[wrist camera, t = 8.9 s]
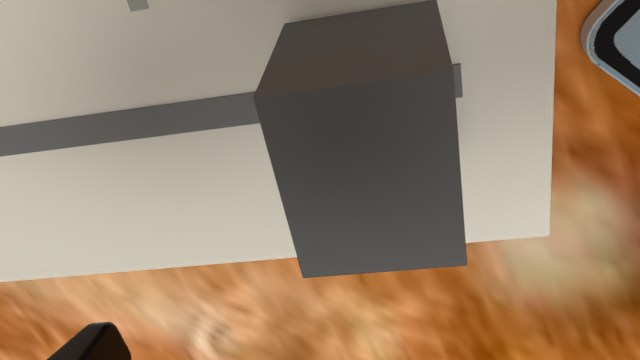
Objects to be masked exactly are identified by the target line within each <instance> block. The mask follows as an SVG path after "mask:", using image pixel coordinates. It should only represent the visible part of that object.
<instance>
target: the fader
mask: <svg viewBox="0 0 640 360" xmlns="http://www.w3.org/2000/svg"><path fill="white" fill-rule="evenodd" d="M253 100H254V103H255V107H256V111H257V114H258V118H259V121H260V125H261V129H262V132H263V136H264V139H265V143H266V147H267V150H268V154H269V157H270V161H271V165H272V168H273V172H274V175H275V179H276V183H277V186H278V190H279V193H280V197H281V201H282V204H283V208H284V211H285V215H286V219H287V222H288V226H289V229H290V233H291V236H292V240H293V244H294V247H295V251H296V254H297V258H298V262H299V265H300V269H301V272H302V276H303V278H311V277H324V276H337V275H349V274H362V273H375V272H388V271H401V270H414V269H427V268H440V267H453V266H465V265H467V255H466V240H465V226H464V212H463V197H462V183H461V168H460V154H459V140H458V125H457V111H456V96H455V82H454V70H453V66H452V62H451V57H450V53H449V49H448V45H447V41H446V37H445V33H444V29H443V25H442V21H441V16H440V12H439V8H438V4H437V0H428V1H422V2H415V3H409V4H403V5H397V6H390V7H384V8H378V9H372V10H365V11H359V12H353V13H346V14H340V15H334V16H328V17H321V18H315V19H309V20H303V21H296V22H290V23H284V25H283V28H282V30H281V33H280V35H279V37H278V40H277V42H276V45H275V47H274V49H273V52H272V54H271V56H270V59H269V61H268V64H267V66H266V68H265V71H264V73H263V75H262V78H261V80H260V83H259V85H258V87H257V90H256V92H255V95H254V97H253Z"/></svg>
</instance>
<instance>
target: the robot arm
mask: <svg viewBox="0 0 640 360" xmlns="http://www.w3.org/2000/svg"><path fill="white" fill-rule="evenodd" d="M47 360H131V354H130V351H129V349H128V347H127V345H126V343H125V341H124V340H123V338H122V336H121V334H120V332H119V330H118V329H117V327H116V326H115V325H114V324H113V323H111V322H102V323H92V324H89V325H87V326H86V327H84V328H83V329H82V330H81V331H80V332H79V333H77V334H76V335H75V336H74V337H73V338H72V339H70V340H69V341H68V342H67V343H66V344H65V345H63V346H62V347H61V348H60V349H59V350H58V351H56V352H55V353H54V354H53V355H52V356H51V357H49V358H48V359H47Z"/></svg>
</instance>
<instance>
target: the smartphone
mask: <svg viewBox="0 0 640 360" xmlns="http://www.w3.org/2000/svg"><path fill="white" fill-rule="evenodd" d="M580 41H581V46H582V48H583V50H584V52H585V53H586V54H587V56H588V57H589V58H590V60H591V61H592V62H593V63H594V64H595V65H596V66H598V67H599V68H600V69H602V70H603V71H605V72H606V73H607V74H609V75H610V76H612V77H613V78H614V79H616V80H617V81H619V82H620V83H621V84H623V85H624V86H625V87H627V88H628V89H630V90H631V91H632V92H634V93H635V94H637V95H638V96H639V97H640V0H603V1H602V2H601V3H600V4H599V5H598V6H597V7H596V8H595V9H594V10H593V11H592V12H591V14H590V15H589V16H588V17H587V19H586V20H585V22H584V24H583V27H582V30H581V34H580Z"/></svg>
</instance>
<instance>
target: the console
mask: <svg viewBox="0 0 640 360" xmlns="http://www.w3.org/2000/svg"><path fill="white" fill-rule="evenodd" d="M422 1H428V0H0V282H9V281H21V280H32V279H44V278H56V277H68V276H80V275H92V274H103V273H115V272H127V271H139V270H151V269H163V268H175V267H186V266H198V265H210V264H222V263H234V262H246V261H258V260H269V259H281V258H293V257H297V254H296V251H295V247H294V244H293V240H292V236H291V233H290V229H289V226H288V222H287V219H286V215H285V211H284V208H283V204H282V201H281V197H280V193H279V190H278V186H277V183H276V179H275V175H274V172H273V168H272V165H271V161H270V157H269V154H268V150H267V147H266V143H265V139H264V136H263V132H262V129H261V125H260V121H259V118H258V114H257V111H256V107H255V103H254V100H253V97H254V95H255V92H256V90H257V87H258V85H259V83H260V80H261V78H262V75H263V73H264V71H265V68H266V66H267V64H268V61H269V59H270V56H271V54H272V52H273V49H274V47H275V45H276V42H277V40H278V37H279V35H280V33H281V30H282V28H283V25H284V23H290V22H296V21H303V20H309V19H315V18H321V17H328V16H334V15H340V14H346V13H353V12H359V11H365V10H372V9H378V8H384V7H390V6H397V5H403V4H409V3H415V2H422ZM437 4H438V8H439V12H440V16H441V21H442V25H443V29H444V33H445V37H446V41H447V45H448V49H449V53H450V57H451V62H452V66H453V70H454V82H455V96H456V111H457V125H458V140H459V154H460V168H461V183H462V197H463V212H464V226H465V240H466V243H471V242H483V241H495V240H506V239H518V238H530V237H542V236H549V231H550V199H551V167H552V136H553V104H554V72H555V41H556V9H557V0H437Z"/></svg>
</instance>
